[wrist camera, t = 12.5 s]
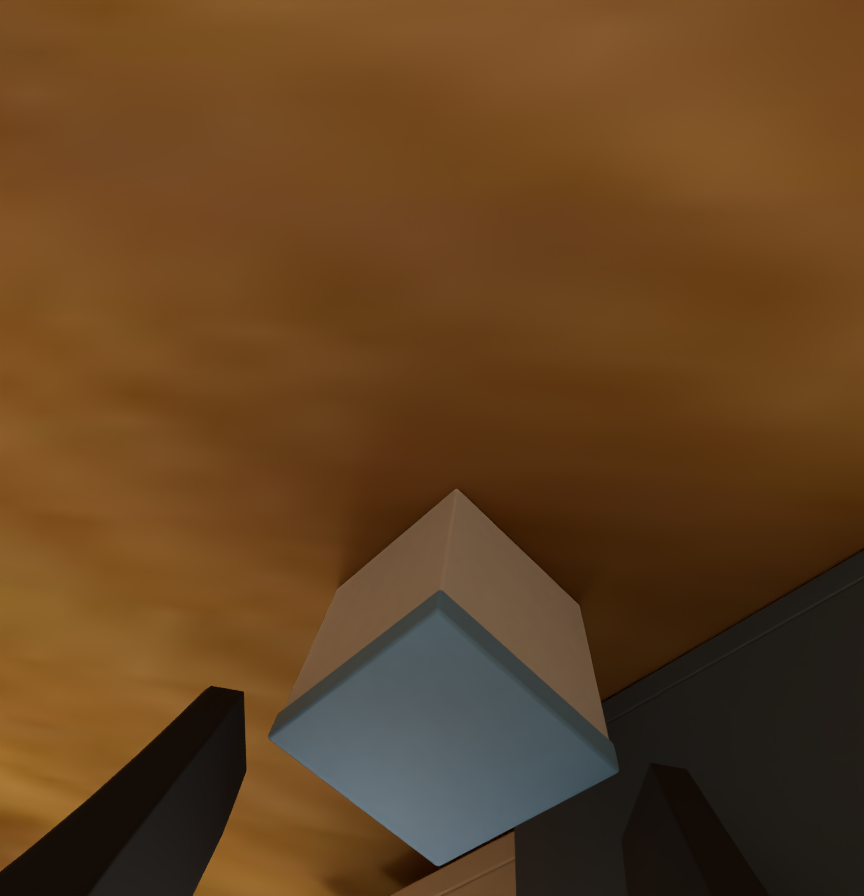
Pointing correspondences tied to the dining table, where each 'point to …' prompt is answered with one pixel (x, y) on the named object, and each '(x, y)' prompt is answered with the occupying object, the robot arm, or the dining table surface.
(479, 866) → the drawer
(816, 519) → the dining table surface
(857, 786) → the cabinet
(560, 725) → the blue tan box
